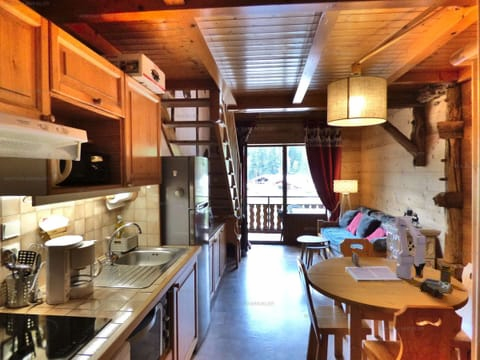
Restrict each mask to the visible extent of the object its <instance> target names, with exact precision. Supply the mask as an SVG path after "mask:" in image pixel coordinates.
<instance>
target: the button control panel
mask: <svg viewBox="0 0 480 360" xmlns="http://www.w3.org/2000/svg"><path fill="white" fill-rule="evenodd" d="M422 282H425V283H427V285H428V286H429V287H431V288H433V289H438V290H439V291H440V292H441V293H446V292H447V294H448V293H449V291H450V289H451V285H450V284H449V283H448V282H442V281H440V280H439V279H434V278H430V277H425V278H424V280H423V281H422Z"/></svg>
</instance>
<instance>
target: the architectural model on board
mask: <svg viewBox="0 0 480 360" xmlns="http://www.w3.org/2000/svg"><path fill="white" fill-rule="evenodd" d="M359 260H360V259H359V255H358V254H357V253H356V252H355V251H353V249H352V250H351V262H352V263H353V264H354V265H355V266H359V263H360V262H359Z"/></svg>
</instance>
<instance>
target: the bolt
mask: <svg viewBox="0 0 480 360" xmlns="http://www.w3.org/2000/svg"><path fill="white" fill-rule="evenodd" d="M418 288H419V290H420V291H425V292H427V293H430V294H431V295H432V296H433V297H435V298H439V299H443V298H444V297H445V294H444V292H441V291H439V290H438V289H433V288H431V287H429V286H428V285H427V283H425V282H423V281H422V282H420V283H419V285H418Z"/></svg>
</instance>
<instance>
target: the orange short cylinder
mask: <svg viewBox="0 0 480 360" xmlns="http://www.w3.org/2000/svg"><path fill="white" fill-rule="evenodd" d="M414 277H415V278H417V279H423V278H424V269H423V270H422V271H421V275H420V276H418V275H416V271H415V275H414Z"/></svg>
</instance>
